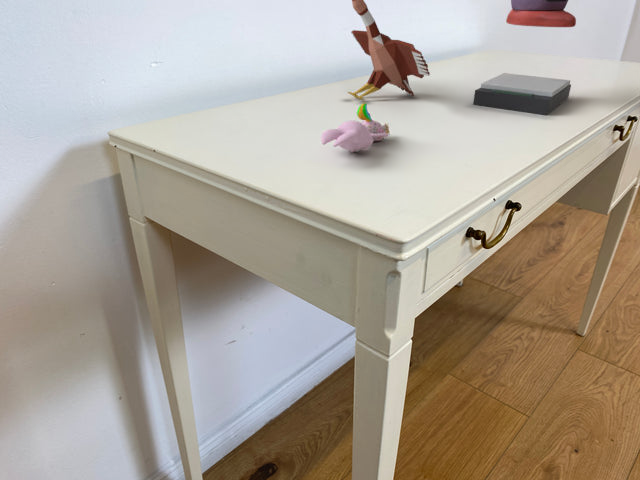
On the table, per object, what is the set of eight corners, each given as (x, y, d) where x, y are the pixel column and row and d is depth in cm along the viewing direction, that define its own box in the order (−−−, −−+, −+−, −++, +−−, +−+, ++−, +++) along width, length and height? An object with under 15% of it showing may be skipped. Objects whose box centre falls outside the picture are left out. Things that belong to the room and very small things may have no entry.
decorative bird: (294, 67, 97) (322, -14, 92) (373, 98, 105) (403, 25, 100) (345, 100, 73) (387, -7, 68) (442, 136, 81) (487, 44, 76)
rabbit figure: (357, 141, 72) (303, 155, 59) (361, 98, 70) (307, 102, 57) (398, 148, 69) (351, 163, 56) (404, 103, 67) (357, 109, 54)
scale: (546, 115, 79) (551, 94, 77) (472, 104, 85) (475, 85, 84) (568, 98, 89) (572, 79, 87) (500, 90, 95) (503, 72, 94)
